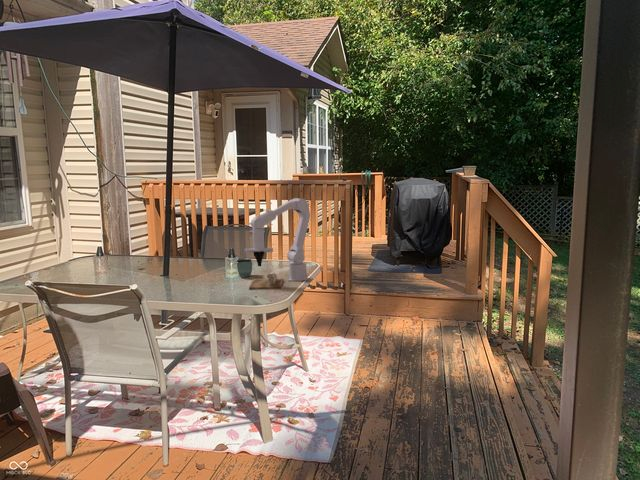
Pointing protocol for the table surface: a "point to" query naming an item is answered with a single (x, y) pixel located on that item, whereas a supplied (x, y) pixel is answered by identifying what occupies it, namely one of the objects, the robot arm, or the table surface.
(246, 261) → the flower pot
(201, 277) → the table surface
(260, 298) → the table surface
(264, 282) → the hinge board
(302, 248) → the robot arm
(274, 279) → the link
